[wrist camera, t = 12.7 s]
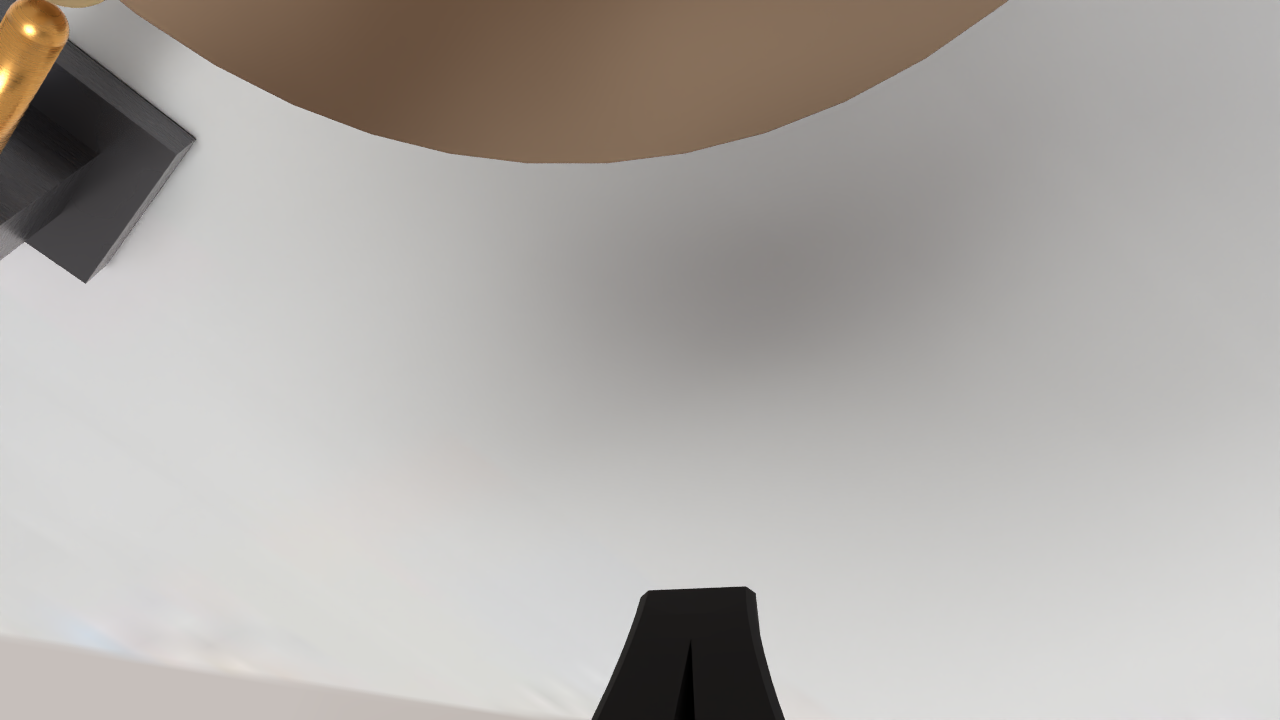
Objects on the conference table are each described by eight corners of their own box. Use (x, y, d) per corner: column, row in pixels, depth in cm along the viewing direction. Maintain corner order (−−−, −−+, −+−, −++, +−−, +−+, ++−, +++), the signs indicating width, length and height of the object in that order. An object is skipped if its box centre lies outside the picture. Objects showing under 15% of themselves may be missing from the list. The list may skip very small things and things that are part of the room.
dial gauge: (105, 265, 21) (-66, 419, 17) (-74, 139, 20) (-313, 269, 16) (275, 27, 18) (121, 138, 14) (75, -140, 17) (-169, -80, 12)
